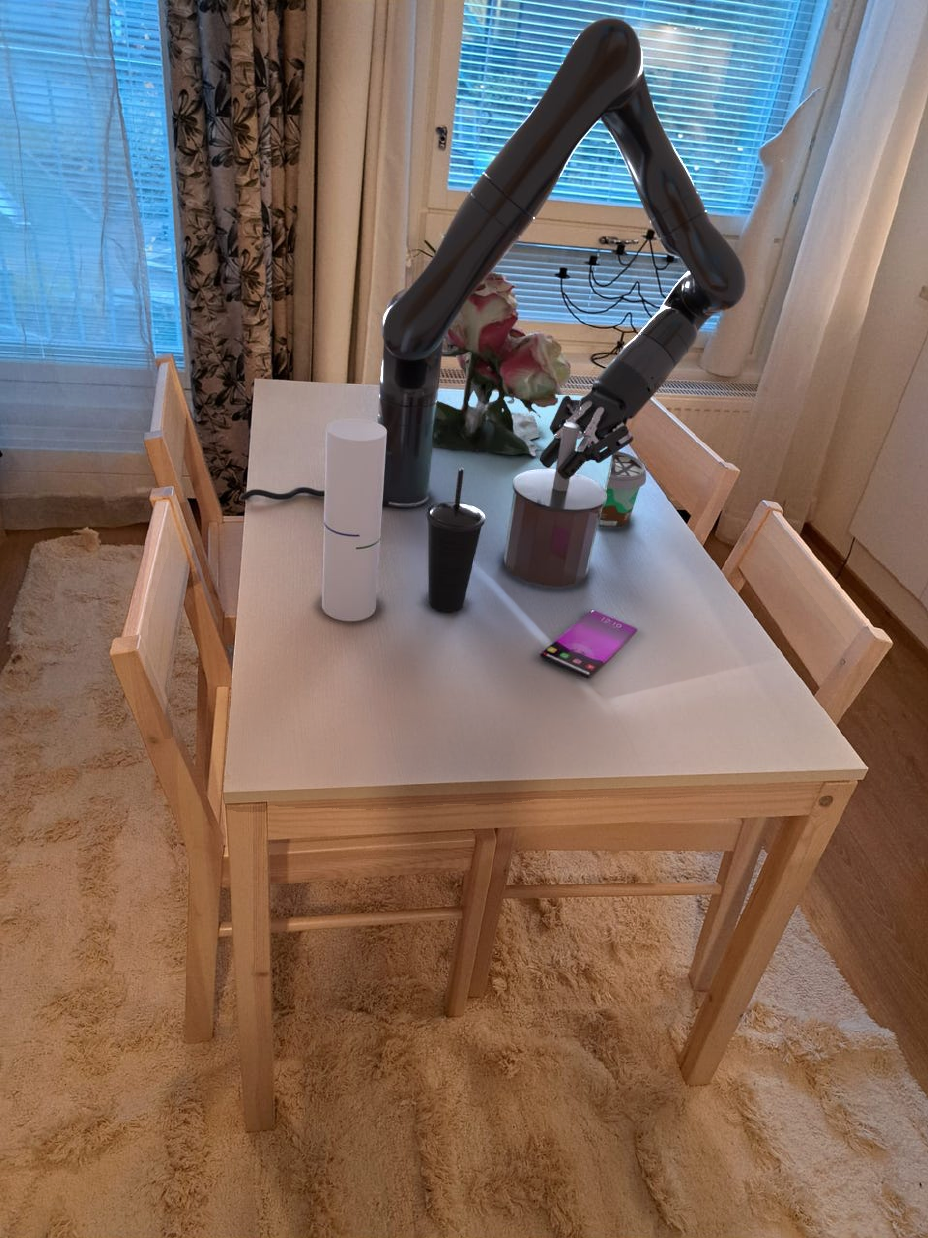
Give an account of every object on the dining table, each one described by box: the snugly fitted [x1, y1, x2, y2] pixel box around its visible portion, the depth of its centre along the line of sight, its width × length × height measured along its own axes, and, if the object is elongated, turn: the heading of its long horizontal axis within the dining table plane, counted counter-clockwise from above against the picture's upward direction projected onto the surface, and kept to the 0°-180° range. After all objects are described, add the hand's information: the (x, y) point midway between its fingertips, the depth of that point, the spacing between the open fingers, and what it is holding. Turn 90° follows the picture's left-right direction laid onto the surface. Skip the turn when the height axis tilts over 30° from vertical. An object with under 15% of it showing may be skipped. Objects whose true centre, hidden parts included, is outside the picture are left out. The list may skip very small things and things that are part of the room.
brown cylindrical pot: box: [503, 491, 602, 588], centre depth 129 cm, size 13×13×12 cm
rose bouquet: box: [433, 271, 572, 457], centre depth 170 cm, size 26×29×30 cm
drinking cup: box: [425, 467, 486, 614], centre depth 115 cm, size 8×8×20 cm
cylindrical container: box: [321, 417, 387, 622], centre depth 111 cm, size 7×7×25 cm
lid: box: [512, 422, 607, 513], centre depth 123 cm, size 14×14×11 cm
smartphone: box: [539, 609, 638, 679], centre depth 115 cm, size 7×15×1 cm, turn 146°
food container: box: [598, 450, 647, 528], centre depth 147 cm, size 12×6×10 cm, turn 168°
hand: (552, 469), depth 122 cm, fingers open, 3 cm apart
